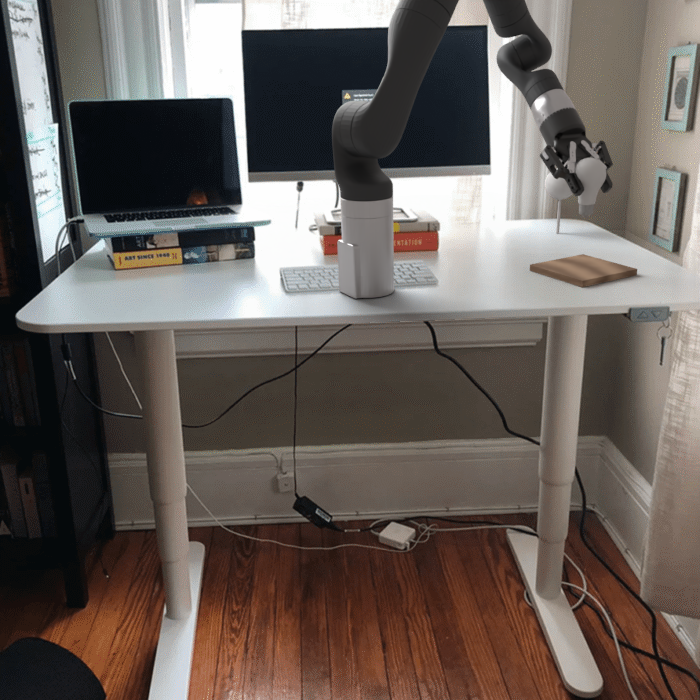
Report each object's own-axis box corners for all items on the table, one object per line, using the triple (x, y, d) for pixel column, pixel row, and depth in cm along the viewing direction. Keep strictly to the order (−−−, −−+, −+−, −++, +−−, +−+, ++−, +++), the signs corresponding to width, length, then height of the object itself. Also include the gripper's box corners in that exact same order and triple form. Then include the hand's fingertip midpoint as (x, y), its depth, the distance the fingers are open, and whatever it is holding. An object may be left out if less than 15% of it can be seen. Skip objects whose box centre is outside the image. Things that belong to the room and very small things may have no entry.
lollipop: (570, 229, 188) (575, 165, 182) (575, 236, 181) (580, 169, 176) (540, 230, 188) (543, 165, 183) (544, 236, 182) (547, 170, 176)
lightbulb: (578, 222, 146) (583, 161, 142) (562, 215, 151) (566, 156, 147) (608, 219, 147) (614, 158, 143) (592, 213, 153) (596, 154, 149)
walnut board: (582, 287, 144) (582, 280, 144) (529, 270, 155) (529, 264, 155) (636, 275, 150) (637, 268, 150) (582, 259, 162) (582, 254, 161)
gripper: (535, 108, 146) (573, 183, 140) (598, 104, 151) (636, 175, 145) (517, 135, 152) (552, 208, 146) (577, 130, 158) (613, 200, 152)
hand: (594, 191), depth 146 cm, fingers closed on lightbulb, 6 cm apart
